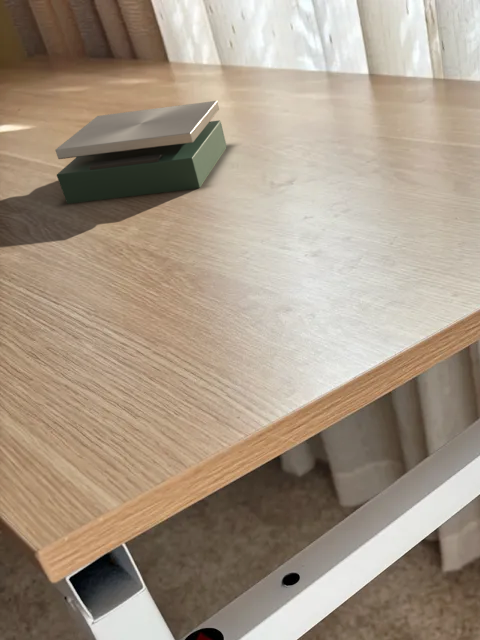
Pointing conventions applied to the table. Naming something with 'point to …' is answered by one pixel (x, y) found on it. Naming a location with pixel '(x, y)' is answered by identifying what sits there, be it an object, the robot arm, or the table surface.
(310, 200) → the table surface
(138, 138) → the pan
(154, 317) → the table surface
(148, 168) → the scale
